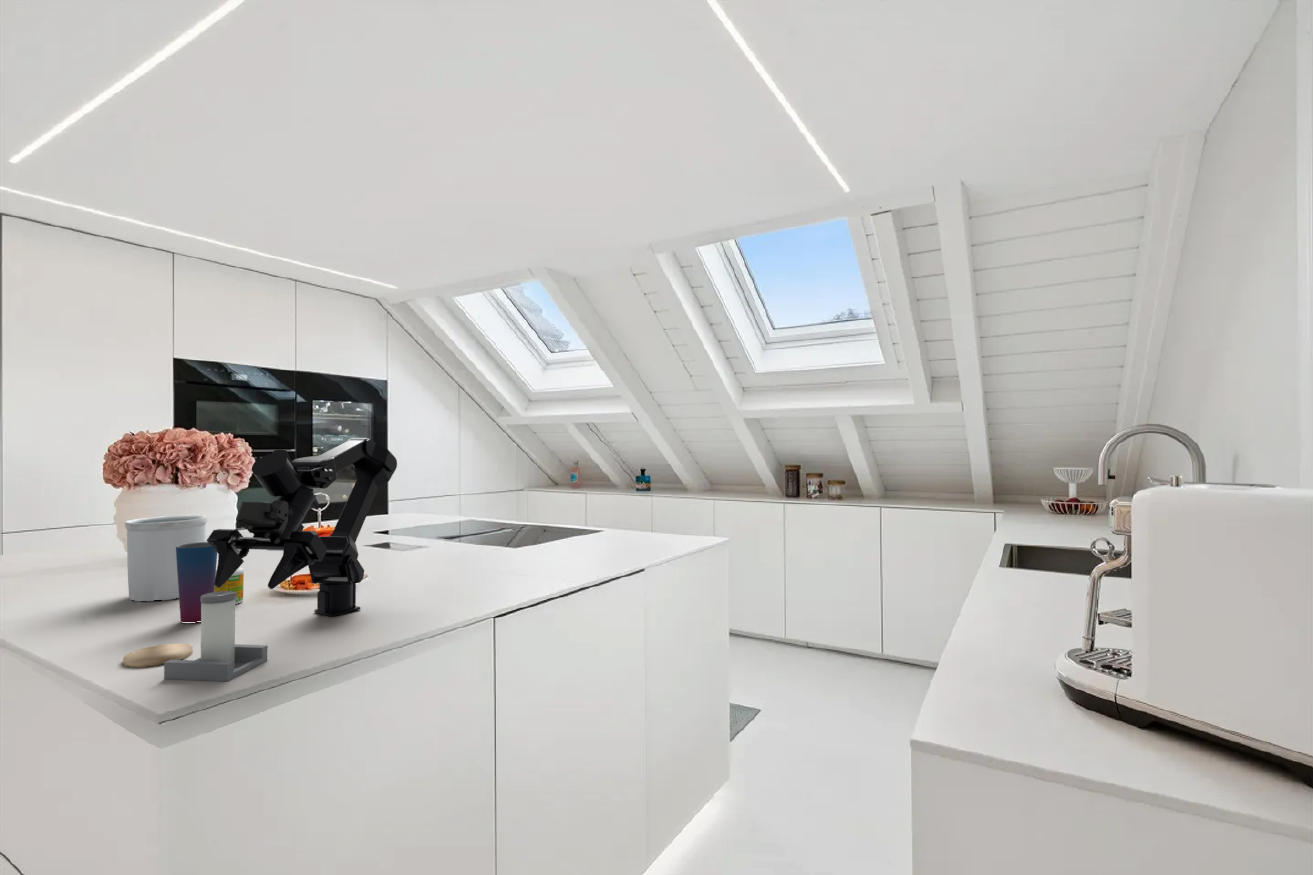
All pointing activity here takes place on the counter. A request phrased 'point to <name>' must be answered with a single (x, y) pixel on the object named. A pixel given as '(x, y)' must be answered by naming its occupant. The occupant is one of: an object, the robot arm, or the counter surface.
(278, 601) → the counter surface
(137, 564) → the utensil holder
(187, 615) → the cup
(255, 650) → the socket frame
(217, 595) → the white jar with lid
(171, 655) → the coaster
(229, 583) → the supplement bottle
